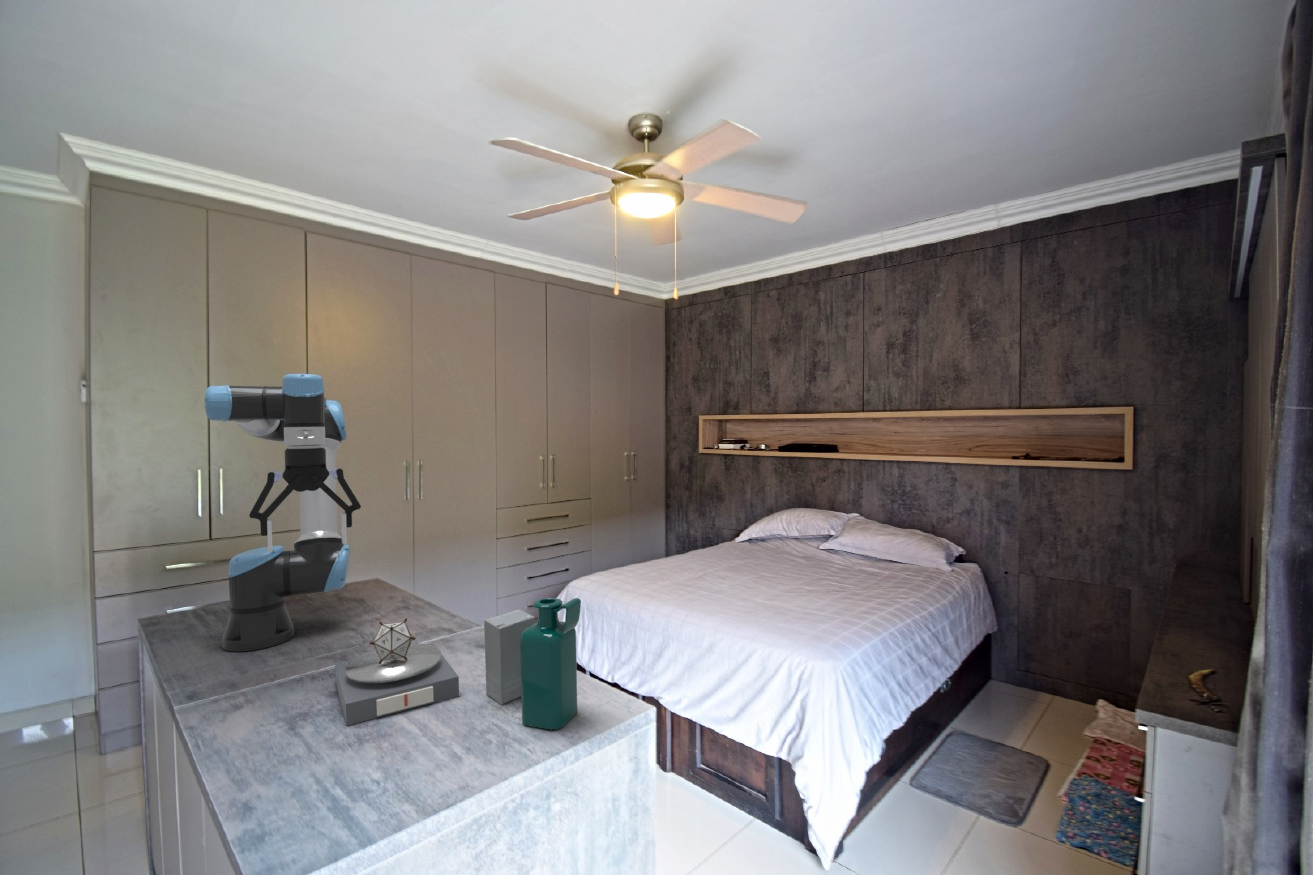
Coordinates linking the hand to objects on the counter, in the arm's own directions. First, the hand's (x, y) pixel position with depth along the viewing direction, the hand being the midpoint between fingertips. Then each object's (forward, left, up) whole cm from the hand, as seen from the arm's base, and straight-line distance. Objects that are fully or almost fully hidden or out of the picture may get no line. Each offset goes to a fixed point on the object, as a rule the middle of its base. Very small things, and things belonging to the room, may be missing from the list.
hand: (308, 546), depth 125 cm
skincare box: (+31, +33, -29) cm, 54 cm away
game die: (+15, +14, -23) cm, 31 cm away
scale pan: (+15, +14, -24) cm, 32 cm away
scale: (+15, +14, -29) cm, 35 cm away
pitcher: (+45, +36, -29) cm, 64 cm away
